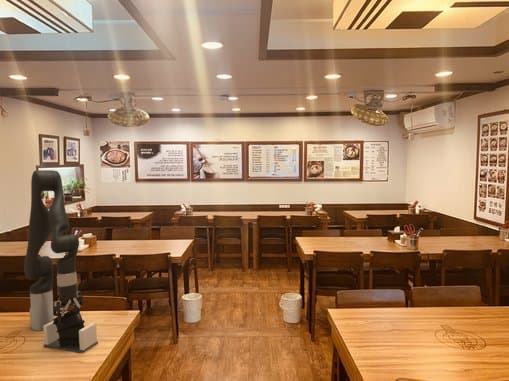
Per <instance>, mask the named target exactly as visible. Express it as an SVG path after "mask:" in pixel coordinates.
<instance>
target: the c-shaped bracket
mask: <svg viewBox="0 0 509 381" xmlns="http://www.w3.org/2000/svg"><path fill="white" fill-rule="evenodd" d="M53 322H54V321H52V322H50V323H48V324H46V325H44V326H43V330H42V331H43V345H44V344H45V345H48V344H50V343H52V342H54V341H56V340H57V339H59V334H58V332H56V331H58V330H57V327H56V325H55V324H53ZM97 336H98V334H97V322H91V323H89V324H88V325H86V326H84V328H82V329H81V330H79V343H80V350H85V349H86V348H88V347H89V346H91V345H92V344H94V343H95V342H97V341H98V337H97Z"/></svg>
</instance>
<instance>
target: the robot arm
mask: <svg viewBox="0 0 509 381" xmlns="http://www.w3.org/2000/svg"><path fill="white" fill-rule="evenodd" d="M30 189H31V190H30V193H31V194H30V195H31V196H30V198H31V199H30V200H31V203H30V213H29V214H30V215H29V221H28V223H29V224H28V237H27V239H28V240H27V248H26V253H25V259H24V266H23V271H24V276H25V277H26V278H27V279H28V280H34V279H38V280H37V281H36V282H35V283H33V284H31V285H30V286H29V297H30V308H29V309H28V310H29V324H30V326H29V327H30V329H31V330H33V331H38V332H39V331H43V326H44V325H46V324H48V323H50V322H52V321H53V319H54V318H55V317H58V323H59V325H64V316H63V315H64V313H66V312H67V310H68V308H70V307H73V308H76V307H77V308H78V309H80V308H81V307H82V306H83V305H84V294H83V291H80V290H78V289H79V288H78V274H77V269H76V267H77V266H76V260H77V255H78V251H79V247H80V239H79V237H78V236H77V235H76V234H73V233H72V234H64V233H66V232H68V231H69V230H70V227H71V226H70V223H69V222H70V221H69V218H68V215H67V212H66V206H65V198H64V188H63V180H62V177H61V173H60V172H59V171H57V170H53V169H52V170H51V169H50V170H49V169H48V170H47V169H46V170H45V169H44V170H43V169H41V170H40V169H39V170H34V171H33V172H32V174H31V182H30ZM42 192H53V194H54V196H53V197H54V198H53V200H52V202H51V205H50V206H49V210H48V208H47V207H46V205H45V203H44V202H43V198H42ZM61 234H64V235H61ZM50 237H51V238H50ZM49 238H50V248H51V251H52V252H53V253H55V254H65V253H67V254H66V255H65V256H63V257H60V258H59V259H57V260H56V271H57V274H56V276H57V277H56V286H57V295H58V296H59V299H58V300H57V301H56V300H55V301H54V296H53V285H54V267H53V266H54V265H53V261H52V259H51V257H50V256H47V255H43V256H39V255H40V254H39V253H40V252H41V249H42V247H43V246H44V245H45V243H46V242H47V241H48V239H49ZM79 312H80V313H81V309H80V311H79Z"/></svg>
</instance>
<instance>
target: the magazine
mask: <svg viewBox="0 0 509 381" xmlns="http://www.w3.org/2000/svg"><path fill="white" fill-rule="evenodd" d="M79 311H80V312H79ZM63 316H64V325H59V323H58V316H55V317H54V319H53V321H54V322H53V324H55V325H56V327H57V330H58V331H56V332H58V334H59V339H58V341H60V344H71V345H80V343H79V330H81V329H82V328H84V327H85V320H84V319H83V317H82V314H81V309H78V308H77V307H76V308H75V307H73V308H72V309H70V310H68V311H65V313H64V315H63Z"/></svg>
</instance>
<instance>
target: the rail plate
mask: <svg viewBox="0 0 509 381" xmlns="http://www.w3.org/2000/svg"><path fill="white" fill-rule="evenodd" d="M98 344H99V341H98V340H97V342H95V343H94V344H92V345H91V346H89V347H88V348H86V349H85V350H80V345H71V344H60V341H58V339H57V340H56V341H54V342H52V343H50V344H48V345H45V344H44V343H43V345H42V346H43V348H46V349H53V350H58V351H59V350H60V351H67V352H73V353H79V354H84V353H85V352H87V351H88V350H90V349H92V348H93V347H95V346H96V345H98Z"/></svg>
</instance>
